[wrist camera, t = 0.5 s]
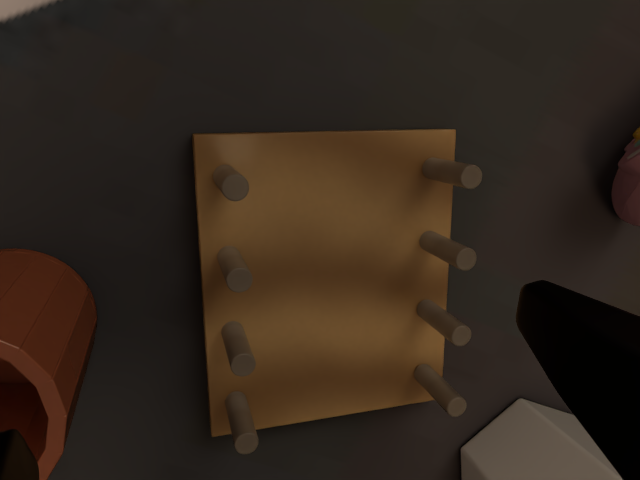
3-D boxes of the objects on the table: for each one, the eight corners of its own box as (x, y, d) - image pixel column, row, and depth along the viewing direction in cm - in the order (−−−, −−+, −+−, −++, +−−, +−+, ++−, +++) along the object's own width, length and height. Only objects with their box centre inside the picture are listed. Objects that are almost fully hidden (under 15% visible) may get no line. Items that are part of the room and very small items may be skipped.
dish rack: (432, 389, 29) (478, 437, 25) (209, 425, 26) (219, 486, 22) (446, 128, 26) (500, 133, 22) (191, 133, 23) (198, 139, 19)
